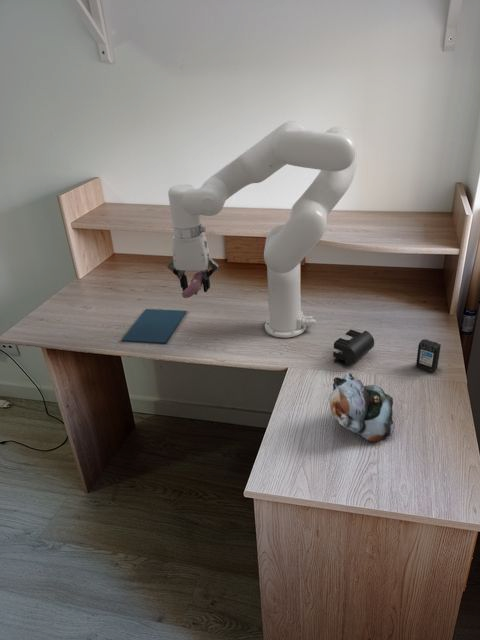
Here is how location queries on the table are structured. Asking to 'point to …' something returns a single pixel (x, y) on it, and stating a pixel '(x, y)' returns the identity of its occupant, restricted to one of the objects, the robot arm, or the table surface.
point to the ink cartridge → (428, 355)
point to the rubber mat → (154, 326)
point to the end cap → (352, 347)
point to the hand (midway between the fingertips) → (195, 289)
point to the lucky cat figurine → (362, 408)
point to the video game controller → (194, 286)
